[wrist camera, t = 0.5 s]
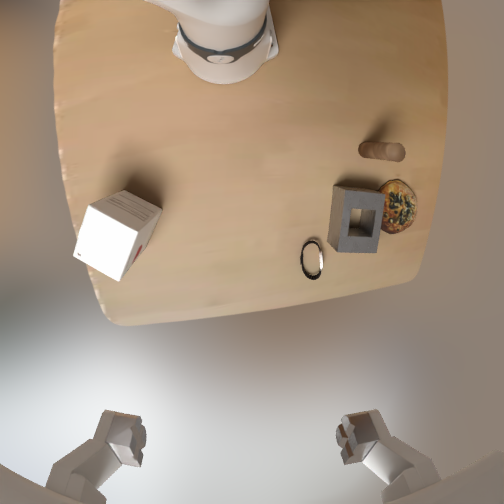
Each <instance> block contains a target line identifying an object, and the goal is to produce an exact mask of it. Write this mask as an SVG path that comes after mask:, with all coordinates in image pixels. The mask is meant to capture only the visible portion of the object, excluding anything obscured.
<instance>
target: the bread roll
mask: <svg viewBox="0 0 504 504" xmlns="http://www.w3.org/2000/svg"><path fill="white" fill-rule="evenodd" d="M378 192H380V193H383V194H385V202H384V209H383V216H382V223H381V229H382V230H383V231H385V232H387V233H389V234H395V233H398V232H401V231H403V230H405V229H406V228H408V227H410V225H412V223H413V222H414V220H415V218H416V215H417V201H416V198H415V195H414V194H413V192H412V191H411V189H410V188H408V186H406V185H405V184H403V183H402V182H401V181H399V180H396V181H389V182H387V184H385V185H384V186H383V187H381V188H380V190H379V191H378Z"/></svg>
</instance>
